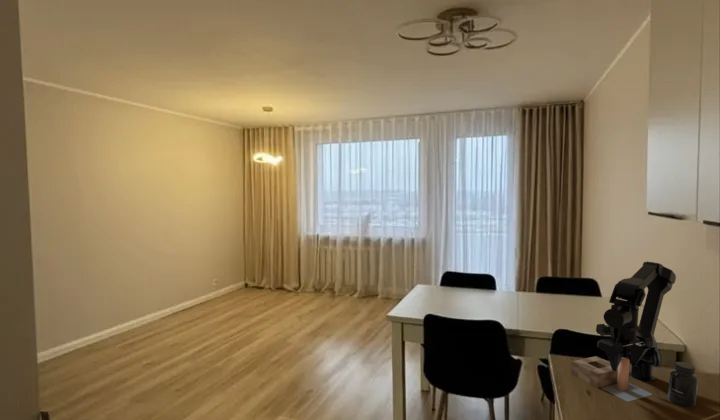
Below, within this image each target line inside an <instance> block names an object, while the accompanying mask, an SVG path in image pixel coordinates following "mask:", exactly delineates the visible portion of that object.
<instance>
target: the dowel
mask: <svg viewBox="0 0 720 420" xmlns="http://www.w3.org/2000/svg"><path fill="white" fill-rule="evenodd" d="M630 365H631V359H629V358H628V357H623V356H622V359H621V361H620V364H619V366H618V377H617V383H616V384H617V389H619V390H621V391H628V383H629V376H630V375H629V372H630Z"/></svg>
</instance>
